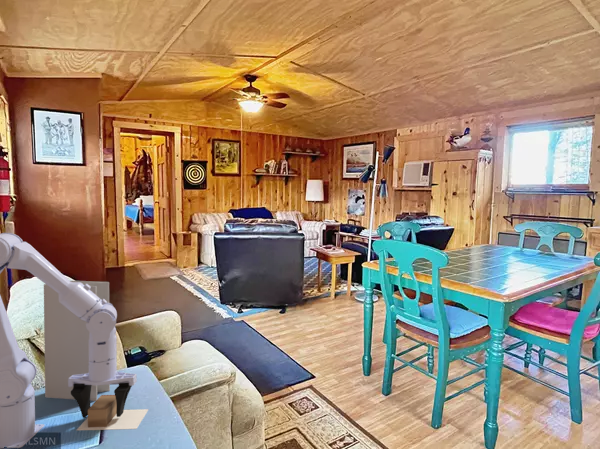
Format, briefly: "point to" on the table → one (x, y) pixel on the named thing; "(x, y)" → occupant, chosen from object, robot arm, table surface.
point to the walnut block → (102, 411)
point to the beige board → (120, 421)
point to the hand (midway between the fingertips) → (103, 414)
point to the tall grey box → (67, 343)
